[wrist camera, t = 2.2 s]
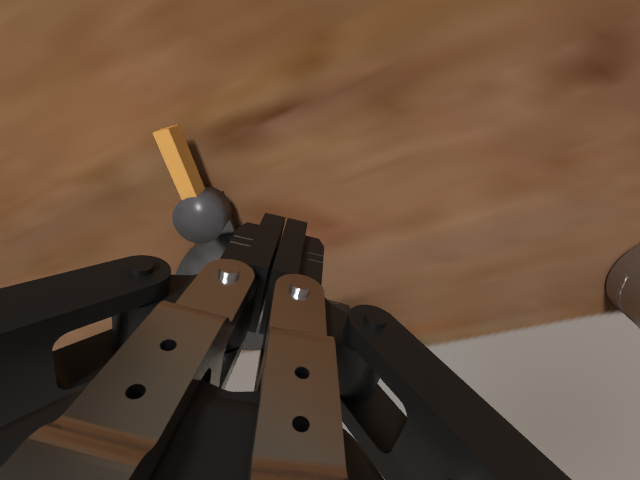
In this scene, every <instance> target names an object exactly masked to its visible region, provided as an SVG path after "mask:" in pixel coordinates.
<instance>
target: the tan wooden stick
mask: <svg viewBox="0 0 640 480" xmlns="http://www.w3.org/2000/svg"><path fill="white" fill-rule="evenodd" d="M153 135H154V137H155V140H156V142H157V144H158V147H159V149H160V151H161V153H162V156H163V158H164V160H165V163H166V165H167V167H168V170H169V172H170V174H171V176H172V179H173V181H174V183H175V186H176V188H177V190H178V192H179V195H180V197H181V199H182V201H181V202H180V203H178V204H177V206H176V207H175V209H174V211H173V223H174V226H175V228H176V230H177V231H178V233H179V234H180V235H181V236H182V237H184V238H185V239H187V240H188V241H191V242H193V243H198V244H205V243H209V242H212V241H213V240H215V239H216V238H217V237H218V236H219V234H220V233H221V231H222V230H223V228H224V227H225V226H226V224H227V223H228V221H229V219H230V217H231V212H232V209H231V204H230V202H229V200H228V198H227V197H226V196H225V195H224V194H223V193H222V192H221V191H219V190H218V189H216V188H213V187H208V186H204V185H203V182H202V180H201V177H200V175H199V172H198V170H197V167H196V165H195V162H194V160H193V157H192V155H191V152H190V150H189V147H188V145H187V142H186V140H185V137H184V135H183V132H182V130H181V127H180V125H179V124H177V125H173V126H170V127H166V128H163V129H160V130H158V131H155V132H153Z"/></svg>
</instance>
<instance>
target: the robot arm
mask: <svg viewBox="0 0 640 480" xmlns="http://www.w3.org/2000/svg"><path fill="white" fill-rule="evenodd" d="M284 223H285V217H281V216H277V215H273V214H269V213H265V214H264V217H263V219H262V221H261V223H260V225H257V224H252V223H248V222H247V223H245V224H243V225H242V226H240V227H238V228H237V230H236V232H235V233H234V236H233V237H232V239H231V240H230V242H229V244H228V245H227V247H226V249H225V251H224V252H223V254H222V256H221V257H220V259H218V260H214V261H211V262H209V263H208V264H206V265H205V266H204V268H203V269H202V270H201V271H200V273H199V274H195V275H171V268H170V266H169V264H168V263H167V262H165V261H164V260H162V259H160V258H157V257H153V256H146V255H137V256H130V257H126V258H122V259H118V260H114V261H110V262H106V263H101V264H97V265H93V266H89V267H85V268H81V269H77V270H73V271H69V272H65V273H61V274H57V275H53V276H49V277H45V278H41V279H37V280H33V281H29V282H25V283H21V284H17V285H13V286H8V287H4V288H0V480H384V479H385V480H571V479H570V478H569V477H568V476H567V475H566V474H565V473H564V472H563V471H561V470H560V469H559V468H558V467H557V466H556V465H555V464H554V463H553V462H552V461H551V460H549V459H548V458H547V457H546V456H545V455H544V454H543V453H542V452H540V450H538V449H537V448H536V447H535V446H534V445H533V444H532V443H531V442H530V441H529V440H528V439H526V438H525V437H524V436H523V435H522V434H521V433H520V432H519V431H518V430H517V429H515V428H514V427H513V426H512V425H511V424H510V423H509V422H508V421H507V420H506V419H505V418H503V417H502V416H501V415H500V414H499V413H498V412H497V411H496V410H495V409H494V408H492V407H491V406H490V405H489V404H488V403H487V402H486V401H485V400H484V399H483V398H482V397H480V396H479V395H478V394H477V393H476V392H475V391H474V390H473V389H472V388H470V386H468V385H467V384H466V383H465V382H464V381H463V380H462V379H461V378H460V377H458V376H457V375H456V374H455V373H454V372H453V371H452V370H451V369H450V368H449V367H448V366H446V365H445V364H444V363H443V362H442V361H441V360H440V359H439V358H438V357H436V355H434V354H433V353H432V352H431V351H430V350H429V349H428V348H427V347H426V346H425V345H424V344H422V343H421V342H420V341H419V340H418V339H417V338H416V337H415V336H414V335H413V334H411V333H410V332H409V331H408V330H407V329H406V328H405V327H404V326H403V325H402V324H401V323H399V322H398V321H397V320H396V319H395V318H394V317H393V316H392V315H391V314H389V313H388V312H386V311H385V310H383V309H381V308H378V307H375V306H371V305H358V306H355V307H354V308H352V309H351V310H350V312H346V311H344V310H342V309H340V308H338V307H336V306H334V305H333V304H331V303H330V302H329V301H328V300H327V299H326V298H325V296H324V289H323V287H322V286H321V283H322V269H323V255H324V246H323V244H322V243H321V241H320V240H319V239H317V238H313V237H309V236H305V234H306V228H307V222H303V221H299V220H294V219H290V218H288V219H287V222H286V226H285V229H284V232H283V228H284ZM282 232H283V235H282ZM281 237H282V239H281ZM606 292H607V295H608V298H609V299H610V301H611V302H612V303H613V304H614V305H615V306H616V307H617V308H618V309H619V310H620V311H622V312H623V313H624V314H625V315H626V316H627V317H628V318H629V319H631V320H632V321H633V322H634V323H635V324H636V325H637V326H638V327H639V328H640V245H638V246H636V247H634V248H633V249H631V250H630V251H628V252H627V253H626V254H624V255H623V256H622V257H621V258H620V259H619V260H618V261H617V262H616V264H615V265H614V266H613V268H612V269H611V271H610V273H609V275H608V278H607V282H606ZM265 299H266V301H265ZM264 303H265V306H264ZM263 306H264V310H263V315H262V320H261V325H260V330H259V334H263V335H264V338H263V343H262V347H261V352H260V357H259V363H258V369H257V375H256V381H255V387H254V392H230V391H226V390H224V389H225V387H226V384H227V382H228V379H229V377H230V375H231V373H232V371H233V368H234V366H235V364H236V361H237V359H238V357H239V355H240V352H241V348H242V343H243V342H244V340H245V338H246V335H247V332H248V331H249V332H253V333H256V329H257V326H258V323H259V319H260V316H261V313H262V309H263ZM109 317H112V329H110V330H108V331H105V332H102V333H100V334H97V335H95V336H92V337H89V338H87V339H84V340H81V341H79V342H76V343H73V344H71V345H68V346H65V347H63V348H60V349H58V350H55V351H52V348H53V345H54V343H55V342H56V341H57V340H58V339H59V338H60V337H61V336H62V335H64V334H65V333H67V332H70V331H72V330H75V329H78V328H81V327H84V326H86V325H89V324H92V323H95V322H98V321H101V320H103V319H106V318H109ZM380 378H381V379H382V380H383V382H384V383H385V384H386V385H387V386H388V387H389V388H390V389H391V391H392V392H393V393H394V394H395V395H396V396H397V397H398V398H399V399H400V401H401V402H402V403H403V405H404V407H405V410H406V413H407V417H406V416H405V415H404V413H403V412H402V411H401V410H400V409H399V408H398V407H397V406H396V404H395V403H394V402H393V401H392V400H391V399H390V398H389V396H388V395H387V394H386V393H385V392H384V391H383V390H382V389H381V387H380V386H379V385H378V384H377V383H378V381H379V379H380ZM342 421H343V423H344V424H345V425H346V427H347V428H348V430H349V431H350V432H351V433H352V435H353V436H354V438H355V439H356V440H355V439H354V438H353V437H352V436H351V435H350V434H349V433H348V432H347V431H346V430H345V429H343V427H342ZM377 469H378V470H377ZM379 472H380V473H381V474H380V473H379ZM382 476H383V477H384V478H383V477H382Z"/></svg>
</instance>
